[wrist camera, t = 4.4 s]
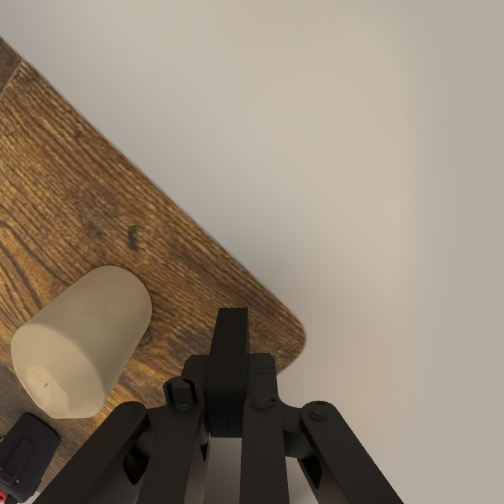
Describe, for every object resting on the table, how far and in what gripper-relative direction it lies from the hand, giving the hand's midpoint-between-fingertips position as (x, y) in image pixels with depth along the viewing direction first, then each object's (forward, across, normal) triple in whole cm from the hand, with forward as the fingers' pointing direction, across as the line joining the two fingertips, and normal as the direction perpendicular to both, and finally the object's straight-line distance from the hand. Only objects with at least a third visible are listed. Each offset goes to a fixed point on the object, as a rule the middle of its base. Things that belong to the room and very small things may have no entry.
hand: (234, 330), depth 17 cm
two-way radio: (+4, -22, -15) cm, 27 cm away
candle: (+4, -8, 0) cm, 9 cm away
